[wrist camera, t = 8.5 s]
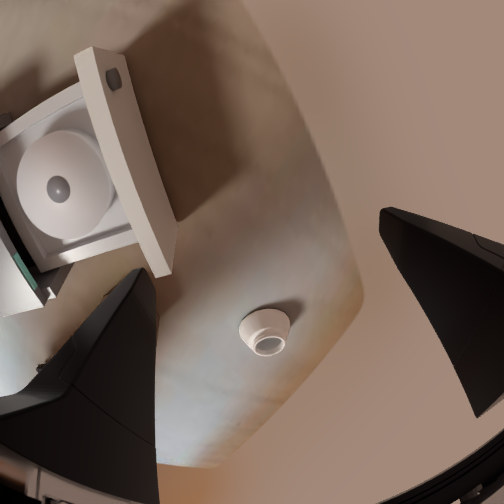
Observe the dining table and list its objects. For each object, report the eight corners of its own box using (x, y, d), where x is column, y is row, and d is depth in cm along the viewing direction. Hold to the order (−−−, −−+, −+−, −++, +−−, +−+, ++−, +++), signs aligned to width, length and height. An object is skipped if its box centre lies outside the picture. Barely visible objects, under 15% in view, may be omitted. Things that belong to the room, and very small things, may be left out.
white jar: (289, 333, 30) (286, 300, 27) (296, 355, 27) (294, 323, 24) (243, 343, 29) (234, 312, 27) (247, 366, 27) (238, 335, 24)
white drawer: (183, 225, 20) (178, 272, 16) (55, 264, 20) (30, 309, 16) (130, 53, 13) (99, 42, 8) (-5, 129, 13) (-51, 151, 8)
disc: (131, 210, 17) (125, 222, 16) (53, 238, 17) (44, 250, 16) (95, 110, 13) (85, 113, 12) (16, 154, 13) (3, 161, 12)
